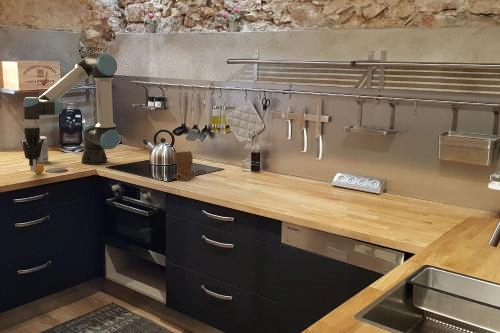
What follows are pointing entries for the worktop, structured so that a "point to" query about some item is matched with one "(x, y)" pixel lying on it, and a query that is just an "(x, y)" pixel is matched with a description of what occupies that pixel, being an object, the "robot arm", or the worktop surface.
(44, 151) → the supplement tub
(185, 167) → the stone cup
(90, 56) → the robot arm
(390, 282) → the worktop surface
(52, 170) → the disc
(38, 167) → the ball
